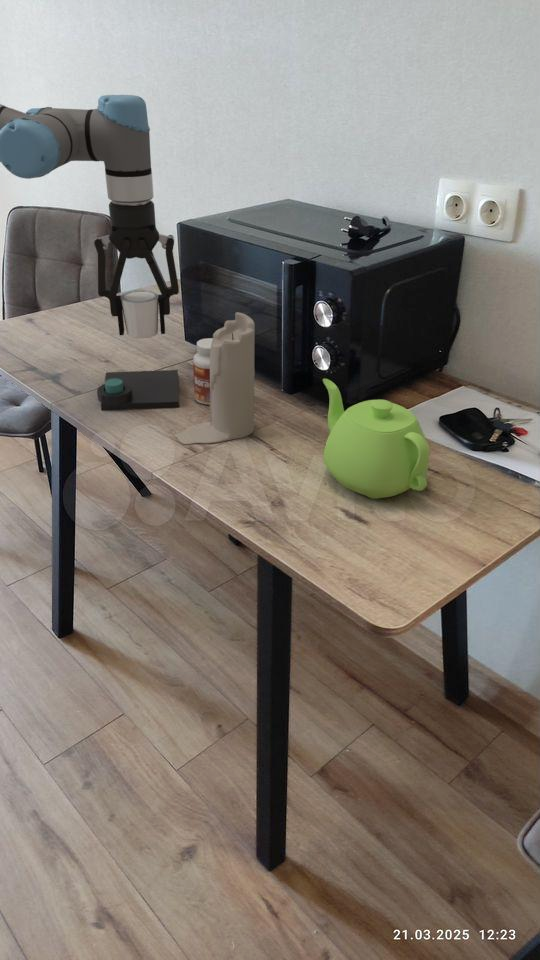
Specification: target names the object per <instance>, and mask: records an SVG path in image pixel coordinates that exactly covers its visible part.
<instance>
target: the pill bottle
mask: <svg viewBox="0 0 540 960" xmlns="http://www.w3.org/2000/svg"><path fill="white" fill-rule="evenodd" d="M212 340H213V337H211V338H209V337H208V338H201V339H199V340H198V341H196V353H195V354H194V356H193V359H192V366H193V367H192V368H193V395H194V399H195V401H196V402H197V403H199V404H201V405H207V406H210V352H211V343H212Z"/></svg>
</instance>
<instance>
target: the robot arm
mask: <svg viewBox="0 0 540 960" xmlns="http://www.w3.org/2000/svg"><path fill="white" fill-rule="evenodd" d="M150 131H151V129H150V126H149V118H148V109H147V104H146V101H145V99H144V98H143V97H141V96H139V95H133V94H106V95H105V94H104V95H101V96H100V97H99V98H98V99H97V108H90V109H81V108H59V107H57V108H56V107H52V106H46V107H32V108H29V109H28V110H27V111H25V112H23V111H21V110H18V109H15V108H12V107H8V106H6V105H5V104H1V103H0V163H1V164H2V166H3V167H4V168H5V169H6V170H7V171H8V172H9V173H10V174H12V175H13V176H15V177H18V178H21V179H26V180H27V179H29V180H31V179H37V178H42V177H44V176H47V175H49V174H50V173H51V172H53V171H54V170H57V169H58V168H60V167H63V166H64V165H66V164H68V163H70V162H103V164H104V172H105V183H106V191H107V198H108V199H109V200H110V201H109V204H108V213H109V222H110V231H109V234H108V235H103V236H100V235H97V236H95V238H94V242H93V245H94V247H95V250H96V253H97V295H99V297H105V298H107V299H108V300H109V308H110V315H111V317H117V324H118V335H119V336H124V335H125V320H124V315H123V310H122V305H121V299H120V297H121V295H117V294H118V291H119V287H120V282H121V279H122V275H123V272H124V268H125V265H126V261H127V259H130V260H131V259H135V258H136V259H145V261H146V263H147V265H148V268H149V270H150V272H151V274H152V277H153V279H154V281H155V283H156V285H157V287H158V289H159V292H160V294H158V295H159V299H158V300H159V304H158V315H159V327H160V335H166V323H165V322H166V321H165V320H166V319H165V316H169V315H170V314H171V302H170V298H171V297H173V296H176V295H179V293H180V288H179V287H180V286H179V281H178V276H177V275H178V274H177V268H176V263H175V257H174V246H175V237H174V235H173V234H169V235H166V234H160V233H159V231H158V229H157V225H156V224H157V223H156V211H155V203H154V202H153V198H154V184H153V183H154V182H153V172H152V170H153V169H152V159H151V158H152V157H151V139H150V138H151V135H150ZM110 243H111V244H112V245H113V247H114V248H116V249H117V251H118V252H119V255H118V259H117V262H116V266H115V270H114V274H113V277H112V281H111V285H110V288H108V287H107V250H108V249H109V245H110ZM158 243H160V244H161V248H162V249H164V250H165V259H166V264H167V270H168V271H167V272H168V276H169V282H170V286H168V285H167V283H166V280H165V278H164V276H163V273H162V271H161V269H160V267H159V265H158V263H157V260H156V257H155V254H154V252H153V250H154V248H155V247H156V246H157V244H158Z"/></svg>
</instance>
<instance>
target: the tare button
mask: <svg viewBox="0 0 540 960" xmlns="http://www.w3.org/2000/svg"><path fill="white" fill-rule="evenodd" d="M104 382H105V390H106V393H110V394H114V393H120V392H122V391H123V390H124V389H123V381H122V380H121V379H117V378H113V379H108V380H106V381H105V380H104Z"/></svg>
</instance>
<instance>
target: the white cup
mask: <svg viewBox="0 0 540 960" xmlns="http://www.w3.org/2000/svg"><path fill="white" fill-rule="evenodd" d="M159 295H160V294H158V293H157V292H154V291H152V290H146V289H145V290H144V289H143V290H139V289H138V290H130V291H127V292H124V293H122V294H121V295H120V296H121V297H120V299H121V305H122V311H123V321H124V326H125V329H126V335H127V336H128V337H130V338H133V339H150V338H153V337H156V336H157V335H158V332H159V331H158V330H159V300H158V299H159Z"/></svg>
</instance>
